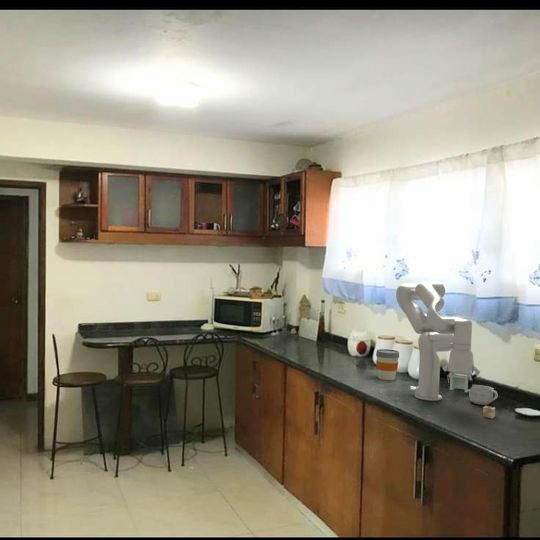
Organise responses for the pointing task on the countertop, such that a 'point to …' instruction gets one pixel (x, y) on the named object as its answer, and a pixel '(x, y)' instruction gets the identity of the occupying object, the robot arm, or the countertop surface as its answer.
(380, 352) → the reusable coffee cup
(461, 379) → the toy fireplace
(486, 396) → the teacup
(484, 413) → the lettered cube
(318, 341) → the countertop surface
